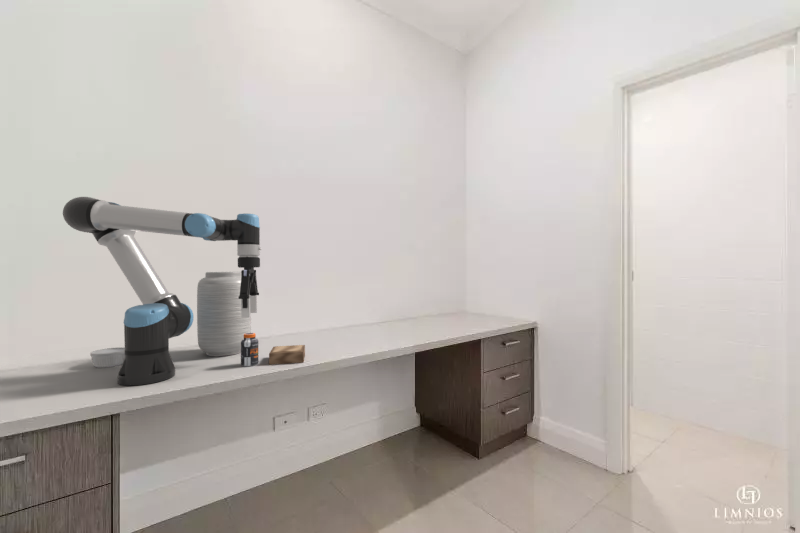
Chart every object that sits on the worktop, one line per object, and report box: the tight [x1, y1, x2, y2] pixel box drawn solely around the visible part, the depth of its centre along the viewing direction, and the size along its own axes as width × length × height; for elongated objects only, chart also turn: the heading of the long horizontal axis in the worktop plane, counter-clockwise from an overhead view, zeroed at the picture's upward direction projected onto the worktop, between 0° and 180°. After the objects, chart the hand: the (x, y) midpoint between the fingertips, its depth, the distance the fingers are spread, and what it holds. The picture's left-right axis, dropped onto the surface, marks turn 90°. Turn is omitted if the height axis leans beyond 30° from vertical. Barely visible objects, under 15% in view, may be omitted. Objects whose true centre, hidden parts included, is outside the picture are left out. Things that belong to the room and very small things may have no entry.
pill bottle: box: [240, 332, 259, 367], centre depth 133 cm, size 6×6×11 cm
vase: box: [196, 271, 252, 357], centre depth 153 cm, size 20×20×34 cm
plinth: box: [268, 344, 306, 365], centre depth 140 cm, size 12×12×4 cm
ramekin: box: [89, 347, 125, 369], centre depth 135 cm, size 11×11×5 cm
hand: (249, 315), depth 133 cm, fingers open, 13 cm apart
